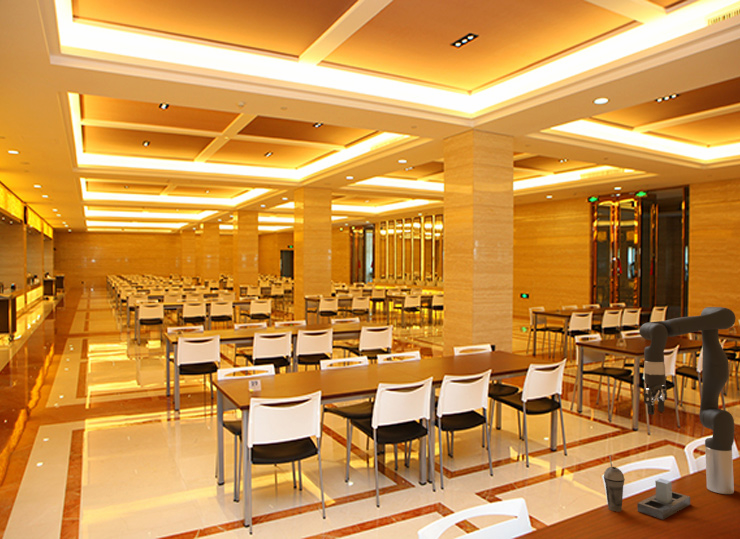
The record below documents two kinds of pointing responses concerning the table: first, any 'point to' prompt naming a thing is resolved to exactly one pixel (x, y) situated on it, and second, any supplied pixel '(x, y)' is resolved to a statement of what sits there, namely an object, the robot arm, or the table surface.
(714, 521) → the table surface
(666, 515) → the grey slotted block
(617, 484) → the beverage cup
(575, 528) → the table surface
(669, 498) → the peg
